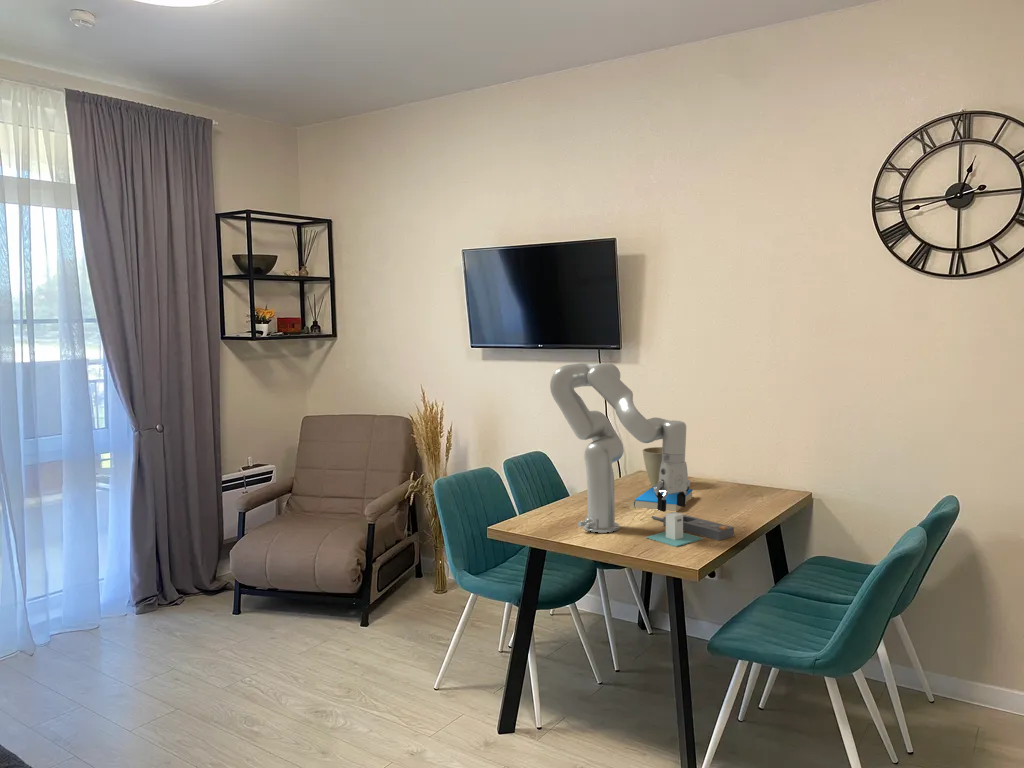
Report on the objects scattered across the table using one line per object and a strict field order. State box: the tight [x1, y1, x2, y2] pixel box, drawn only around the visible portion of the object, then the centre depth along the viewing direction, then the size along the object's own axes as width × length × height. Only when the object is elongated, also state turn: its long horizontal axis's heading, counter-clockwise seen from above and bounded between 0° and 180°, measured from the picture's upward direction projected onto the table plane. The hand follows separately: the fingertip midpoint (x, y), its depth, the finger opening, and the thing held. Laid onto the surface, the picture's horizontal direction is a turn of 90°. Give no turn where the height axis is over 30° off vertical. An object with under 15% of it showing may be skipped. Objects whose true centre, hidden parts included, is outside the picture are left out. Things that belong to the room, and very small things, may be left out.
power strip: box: [650, 514, 735, 541], centre depth 264 cm, size 33×8×4 cm, turn 38°
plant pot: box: [642, 446, 662, 487], centre depth 328 cm, size 15×15×16 cm
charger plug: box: [665, 511, 684, 540], centre depth 251 cm, size 4×4×8 cm
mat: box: [645, 530, 703, 548], centre depth 252 cm, size 13×13×1 cm
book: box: [633, 486, 694, 512], centre depth 300 cm, size 17×4×25 cm
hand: (671, 508), depth 251 cm, fingers open, 9 cm apart
